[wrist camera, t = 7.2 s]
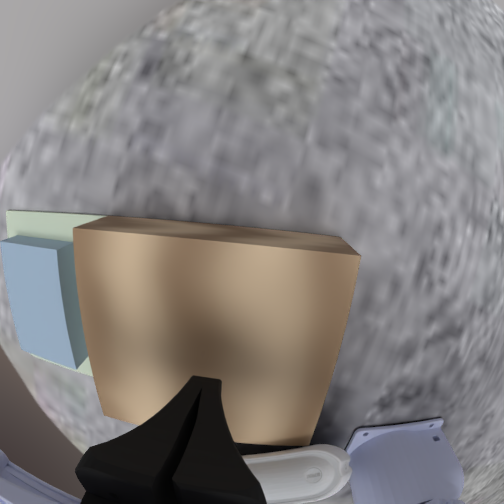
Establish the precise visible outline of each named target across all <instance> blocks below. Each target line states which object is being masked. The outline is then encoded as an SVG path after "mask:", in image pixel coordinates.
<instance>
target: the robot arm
mask: <svg viewBox="0 0 504 504" xmlns="http://www.w3.org/2000/svg"><path fill="white" fill-rule="evenodd" d="M221 392H222V381H221V380H220V379H216V378H208V377H201V376H195V375H193V376H191V377H190V379H189V380H188V381H187V383H186V384H185V385H184V386H183V388H182V389H181V390H180V391H179V392H178V393H177V394H176V395H175V396H174V397H173V398H172V399H171V400H170V401H169V402H168V403H167V404H166V405H165V406H164V407H163V408H162V409H161V410H160V411H158V412H157V413H156V414H155V415H154V416H152V417H151V418H150V419H148V420H147V421H145V422H144V423H143V424H141V425H139V426H138V427H136V428H134V429H133V430H131V431H129V432H127V433H125V434H123V435H121V436H119V437H117V438H115V439H112V440H110V441H108V442H104V443H101V444H98V445H95V446H92V447H89V449H88V450H87V451H86V452H85V454H84V455H83V457H82V458H81V460H80V462H79V463H78V465H77V467H76V469H75V473H76V475H77V477H78V479H79V481H80V482H81V484H82V485H83V487H84V488H85V490H86V492H85V495H84V497H83V499H82V500H81V499H78V498H76V497H74V496H72V495H69V494H67V493H65V492H63V491H61V490H59V489H57V488H55V487H53V486H51V485H49V484H47V483H46V482H43V481H42V480H40V479H38V478H36V477H34V476H33V475H31V474H29V473H28V472H26V471H24V470H23V469H21V468H20V467H18V466H16V465H15V464H13V463H12V462H10V461H9V460H8V458H7V456H6V455H5V454H4V453H3V451H1V449H0V504H267V502H266V498H265V495H264V492H263V489H262V487H261V484H260V482H259V481H258V480H257V478H256V477H255V476H254V474H253V473H252V472H251V470H250V469H249V467H248V466H247V464H246V463H245V461H244V459H243V458H242V456H241V454H240V452H239V451H238V449H237V447H236V445H235V442H234V440H233V438H232V435H231V433H230V430H229V427H228V424H227V421H226V418H225V414H224V410H223V405H222V398H221ZM443 422H444V420H443V419H442V418H438V419H433V420H427V421H421V422H414V423H407V424H400V425H391V426H382V427H371V428H360V429H357V430H356V431H355V432H354V434H353V436H352V438H351V440H350V442H349V444H348V446H347V448H346V450H345V451H346V452H347V453H348V454H349V456H350V458H351V459H350V462H349V466H351V468H352V474H351V476H350V479H349V482H350V486H351V491H352V496H353V501H354V504H465V503H464V502H463V501H462V500H458V499H459V497H460V495H461V493H462V490H463V486H464V474H463V469H462V466H461V464H460V462H459V460H458V458H457V457H456V455H455V453H454V451H453V449H452V447H451V445H450V444H449V442H448V440H447V438H446V436H445V434H444V433H443V431H442V429H441V426H442V424H443Z"/></svg>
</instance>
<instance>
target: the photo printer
mask: <svg viewBox="0 0 504 504" xmlns="http://www.w3.org/2000/svg"><path fill="white" fill-rule="evenodd" d="M242 458H243V459H244V461H245V463H246V464H247V466H248V467H249V469H250V470H251V472H252V473H253V474H254V476H255V477H256V478H257V480H258V481H259V482H260V484H261V487H262V489H263V492H264V495H265V498H266V502H267V504H301V503H307V502H313V501H319V500H322V499H325V498H328V497H330V496H332V495H334V494H335V493H337V492H338V491H339V490H341V489H342V488H343V487H344V486H345V485H346V483H347V482H348V480H349V479H350V476H351V474H352V468H351V466H349V462H350V459H351V458H350V456H349V454H348V453H347V452H346V451H344V450H343V449H341V448H339V447H337V446H333V445H329V444H316V445H311V446H304V447H301V448H295V449H290V450H284V451H277V452H270V453H262V454H253V455H243V456H242Z"/></svg>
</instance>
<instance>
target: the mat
mask: <svg viewBox="0 0 504 504" xmlns="http://www.w3.org/2000/svg"><path fill="white" fill-rule="evenodd" d="M106 216H107V215H91V214H75V213H58V212H39V211H17V210H7V211H6V219H7V234H8V238H11V237H13V236H16V235H21V236H28V237H36V238H44V239H52V240H60V241H68V242H73V228H74V227H77V226H79V225H82V224H85V223H88V222H91V221H94V220H97V219H100V218H103V217H106ZM30 354H31V353H30ZM31 355H32V356H34V357H37V358H40V359H42V360H45V361H47V362H50V363H53V364H56V365H59V366H61V367H64V368H67V369H70V370H73V371H76V372H79V373H83V374H86V375H89V376H92V377H93V374H92V369H91V365H90V361H89V356H88V357H87V358H86V359H85V361H84V362H83V363H82V364H81V365H80V366H79V368H78V369H77V370H75V369H72V368H69V367H66V366H63V365H60V364H58V363H55V362H52V361H49V360H47V359H44V358H41V357H39V356H36V355H34V354H31Z"/></svg>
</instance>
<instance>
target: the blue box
mask: <svg viewBox="0 0 504 504" xmlns="http://www.w3.org/2000/svg"><path fill="white" fill-rule="evenodd" d="M0 244H1V253H2V261H3V268H4V275H5V281H6V287H7V292H8V297H9V302H10V307H11V311H12V316H13V320H14V324H15V328H16V332H17V335H18V339H19V343H20V346H21V349H22V350H24V351H26V352H29V353H31V354H34V355H36V356H39V357H41V358H44V359H47V360H49V361H52V362H55V363H58V364H60V365H63V366H66V367H69V368H72V369H75V370H77V369H78V368H79V366H80V365H81V364H82V363H83V362H84V361H85V359H86V358H87V357H88V351H87V347H86V342H85V336H84V331H83V325H82V319H81V313H80V306H79V299H78V291H77V282H76V272H75V261H74V247H73V242H68V241H60V240H52V239H44V238H36V237H28V236H21V235H16V236H13V237H11V238H8V239H5V240H2V241H0Z"/></svg>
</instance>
